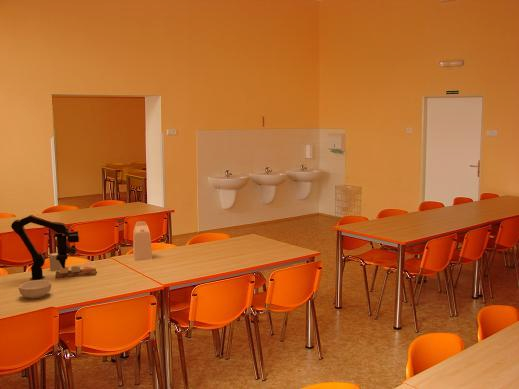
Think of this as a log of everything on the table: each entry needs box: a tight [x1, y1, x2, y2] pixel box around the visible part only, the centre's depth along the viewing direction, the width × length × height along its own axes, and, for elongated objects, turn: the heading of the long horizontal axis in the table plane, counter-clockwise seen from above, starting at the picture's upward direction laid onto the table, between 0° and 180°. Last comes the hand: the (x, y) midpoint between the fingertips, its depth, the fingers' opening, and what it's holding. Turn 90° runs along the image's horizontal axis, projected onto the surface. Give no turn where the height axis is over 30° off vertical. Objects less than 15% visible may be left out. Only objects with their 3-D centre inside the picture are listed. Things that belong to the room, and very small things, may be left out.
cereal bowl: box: [18, 279, 52, 300], centre depth 306 cm, size 17×17×7 cm
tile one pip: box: [58, 266, 69, 274], centre depth 346 cm, size 5×5×3 cm
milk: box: [132, 221, 153, 261], centre depth 387 cm, size 12×12×26 cm
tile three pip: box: [82, 266, 93, 272], centre depth 350 cm, size 5×5×3 cm
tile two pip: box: [70, 265, 81, 273], centre depth 348 cm, size 5×5×3 cm
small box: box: [48, 252, 62, 272], centre depth 363 cm, size 8×6×10 cm
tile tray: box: [54, 267, 97, 280], centre depth 348 cm, size 24×10×2 cm, turn 105°
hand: (63, 267), depth 346 cm, fingers closed
